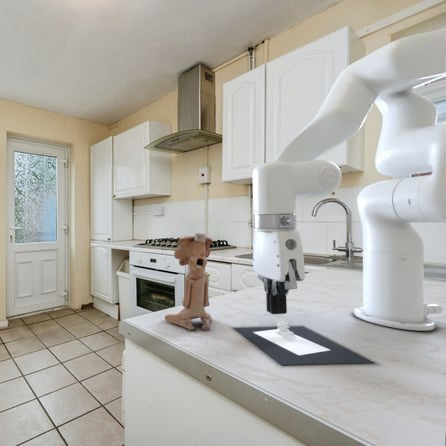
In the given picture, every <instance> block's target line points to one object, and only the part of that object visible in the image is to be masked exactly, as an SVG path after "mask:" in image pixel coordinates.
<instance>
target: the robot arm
mask: <svg viewBox="0 0 446 446" xmlns="http://www.w3.org/2000/svg"><path fill="white" fill-rule="evenodd" d="M443 77H446V27H445V28H440V29H436V30H430V31H426V32H421V33H416V34H413V35H412V34H411V35H409V36H405V37H401V38H398V39H396V40H393V41H391V42H388V43H387V44H385V45H383V46H382V47H379V48H378V49H376V50H374V51H372V52H370V53H369V54H366V55H365V56H363V57H361V58H359V59H358V60H356V61H354V62H353V63H350V64H349V65H348V66H346V67H344V69H343V70H342V71H341V72H340V73H339V74H338V76H337V77H336V79H335V81H334V82H333V84H332V86H331V88H330V89H329V92H328V94H327V95H326V97H325V98H324V100H323V102H322V104H321V106H320V107H319V109H318V111H317V112H316V115H315V116H314V118H313V119H312V120H311V121H310V122H309V123H308V124H307V125H306V126H304V127H303V129H301V131H300V132H298V133H297V134H296V136H295V137H294V138H292V140H290V142H288V143H287V144H286V145H285V146H284V148H283V149H282V150H281V151H280V153H279V154H278V155H277V157H276V158H275V160H274V161H269V162H265V163H259V164H258V165H255V166H254V168H253V170H252V177H251V178H252V210H253V232H254V234H253V245H252V246H253V247H252V267H253V271H254V273H255V274H257V278H258V279H259V280H260V281H261V282H262V283H263V288H264V292H265V295H266V296H265V297H266V298H265V299H266V311H267V312H268V313H270V314H271V315H285V314H287V313H288V309H287V307H288V305H287V296H288V295H289V291H291V290H297V289H298V283H297V282H303V281H304V280H305V279H306V270H305V256H304V250H303V249H304V248H303V243H302V239H301V234H300V231H299V230H297V203H296V202H297V200H300V199H303V200H304V199H305V200H306V199H314V198H315V199H316V198H320V197H326V196H328V195H331V194H332V193H334V192H335V191H336V190H337V189H338V188H339V187H340V185H341V183H342V180H343V175H342V174H343V173H342V171H341V169H340V167H339V166H338V165H337V164H335V163H334V162H332V161H330V160H326V159H318V158H319V157H320V156H322V155H323V154H325V153H327V152H329V151H332V150H333V149H335V148H336V147H338V146H340V145H341V144H343V143H344V142H346V141H347V140H349V139H350V138H352V137H354V136H355V135H356V134H357V133H358V132H359V131H360V129H361V128H362V126H363V124H364V122H365V120H366V118H367V116H368V114H369V112H370V111H371V110H372V109H371V108H372V107H373V105H375V106H376V107H377V109H379V111H380V113H381V117H382V124H381V130H380V134H379V137H378V138H379V139H378V142H377V143H378V144H377V148H376V153H375V158H374V159H375V160H374V165H375V169H376V171H377V172H378V173H379V174H380V175H383V176H387V177H401V176H408V177H402V178H392V179H387V180H381V181H377V182H376V181H375V182H373V183H370V184H369V185H367V186H365V187H363V188H362V189H361V190H360V192H358V195H357V200H356V207H357V212H358V214H359V218H360V219H359V220H360V223H361V227H362V228H361V232H362V306H360V307H355V308H354V309H353V315H354V316H355V317H357V318H359V319H360V320H364V321H366V322H368V323H372V324H376V325H379V326H384V327H389V328H393V329H399V330H405V331H406V330H407V331H417V332H422V331H423V332H427V331H433V330H435V328H436V323H435V321H433V320H432V319H430V318H428V315H429V314H432V315H433V314H435V315H438V314H439V315H440V314H442V313H443V307H441V306H440V305H439V304H428V303H426V302H424V298H425V297H424V292H425V291H424V285H425V284H424V283H425V282H424V281H425V279H424V275H425V274H424V271H425V270H424V267H425V266H424V260H425V259H424V258H425V257H424V255H425V254H424V252H425V249H424V247H425V246H424V241H423V239H422V237H421V235H420V234H419V233H418V232H417V230H416V229H415V227H413V226H412V224H411V223H446V121H443V122H438V123H437V120H438V107H437V105H436V104H435V102H433V101H432V100H431V99H430V98H428V97H426V96H424V95H422V94H419V93H418V92H417V91H415V90H413V89H415V88H417V87H420V86H423V85H425V84H428V83H430V82H433V81H436V80H438V79H442V78H443ZM426 173H431V174H427V175H420V176H412V177H409V176H411V175H418V174H426Z"/></svg>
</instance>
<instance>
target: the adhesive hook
mask: <svg viewBox="0 0 446 446" xmlns="http://www.w3.org/2000/svg"><path fill="white" fill-rule="evenodd" d="M289 324H290V323H289V322H287V320H286V319H280V320H279V321H278V322H277V324H276V325H277V326H276V327H277V328H278V329H276V330H275V331H274V334H275V335H277V336H279V337H283V338H285V339H287V340H296V339H297V337H296V335H295V334H294V333H293V332H291V331H289V329H287V328H290V327H291V326H288V325H289Z"/></svg>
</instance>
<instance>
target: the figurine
mask: <svg viewBox="0 0 446 446" xmlns="http://www.w3.org/2000/svg"><path fill="white" fill-rule="evenodd" d="M177 243H178V245H179V247H177V248H176V249H175V251H174V253H173V257H174V259H177V260H178V265H180V266H181V267H184V266H187V265H188V267H189V268H188V270H189V271H188V273H186V275H185V279H184V287H183V288H184V289H183V290H184V291H183V299H182V301H181V306H182V307H183V308H182V309H181V310H180V311H178V313H172V314H166V315H165V316H164V320H165V321H166V322H168V323H170V324H175V325H178V326H180V327H182V328H185V329H187V330H189V331H193V330H195V327H194V326H193V324H192V320H196V319H200V321H201V323H202V326H201V329H202V330H204V331H205V330H206V331H210V323H211V321H212V315H211V314H210V313H208V312H207V311H206V309H205V308H206V307H210V302H209V301H210V297H209V283H210V281H209V280H210V279H209V275H208V274H207V272H206V267H207V265H208V258H209V257H210V255H211V249H210V245H212V244H213V240H212V238H211V237H208V236H206V234H205V233H202V232H195V234H194V235H191V236H183V237H180V238H179V239H178V240H177Z"/></svg>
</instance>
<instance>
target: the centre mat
mask: <svg viewBox="0 0 446 446" xmlns="http://www.w3.org/2000/svg"><path fill="white" fill-rule="evenodd" d="M277 327H278V326H257V327H256V326H255V327H254V326H253V327H251V326H249V327H233V329H234V330H235V331H237V332H238V333H239V334H241V335H242V336H243V337H245V338H246V339H248V341H250V342H251V343H252V344H253V345H255V346H256V347H257V348H259V349H260V350H261V351H263V352H264V353H265V354H267V355H268V356H269V357H270V358H271V359H273V360H274V361H275V362H277V363H278V364H280V365H281V366H309V365H311V366H313V365H348V364H349V365H350V364H351V365H352V364H375V362H374V361H372V360H370V359H369V358H367V357H364V356H362V355H361V354H358V353H356V352H355V351H353V350H351V349H349V348H347V347H344V346H343V345H341V344H338V343H337V342H335V341H333V340H331V339H330V338H327V337H325V336H324V335H321V334H319V333H317V332H315V331H313V330H311V329H309V328H307V327H306V326H303V325H302V326H289V327H290V328H287V329H289V331H291V332H293V333H294V334H295V335H297V336H299V337H302V338H304V339H306V340H309V341H311V342H313V343H316V344H318V345H320V346H323V347H325V348H327V349H330V350H329V351H323V352H317V353H311V354H305V355H297V354H295V353H293V352H291V351H289V350H287V349H285V348H283V347H281V346H279V345H277V344H275V343H273V342H271V341H269V340H267V339H265V338H263V337H261V336H259V335H257V334H255V333H253V332H258V331H266V330H274V329H278V328H277Z"/></svg>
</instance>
